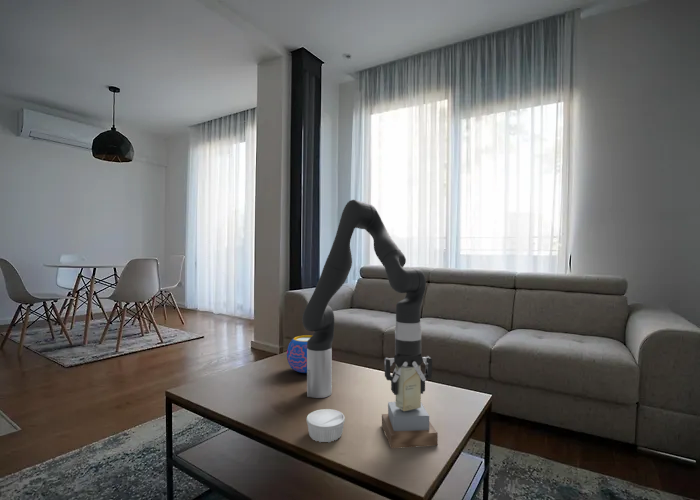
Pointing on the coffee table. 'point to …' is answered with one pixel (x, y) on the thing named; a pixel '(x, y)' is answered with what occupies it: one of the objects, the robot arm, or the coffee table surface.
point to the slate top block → (408, 418)
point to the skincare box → (408, 389)
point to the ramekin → (325, 425)
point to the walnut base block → (409, 435)
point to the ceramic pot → (298, 353)
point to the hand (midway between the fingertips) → (408, 393)
